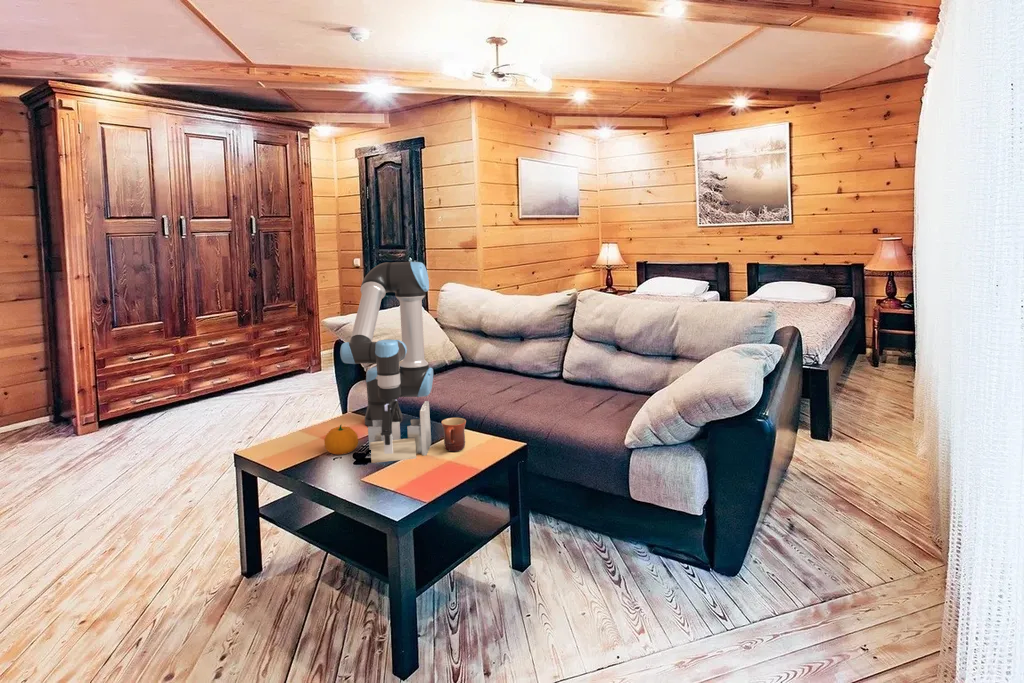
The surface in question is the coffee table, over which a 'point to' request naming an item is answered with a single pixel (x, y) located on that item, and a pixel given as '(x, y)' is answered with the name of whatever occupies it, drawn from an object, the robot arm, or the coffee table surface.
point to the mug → (454, 434)
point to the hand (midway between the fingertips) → (392, 446)
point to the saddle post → (375, 432)
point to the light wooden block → (400, 450)
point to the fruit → (341, 440)
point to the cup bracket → (421, 430)
